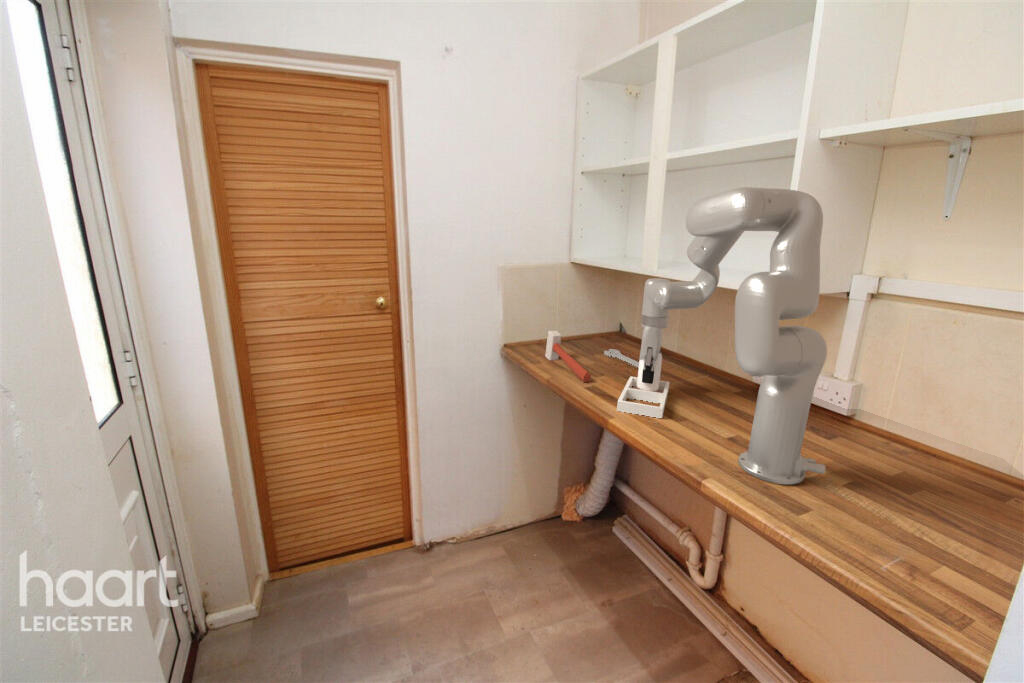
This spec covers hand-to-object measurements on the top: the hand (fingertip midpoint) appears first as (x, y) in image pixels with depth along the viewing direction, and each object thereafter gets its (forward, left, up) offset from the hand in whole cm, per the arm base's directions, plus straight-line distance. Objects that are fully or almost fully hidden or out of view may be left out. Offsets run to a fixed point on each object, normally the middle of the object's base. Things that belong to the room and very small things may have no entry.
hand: (648, 380), depth 141 cm
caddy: (0, +5, -5) cm, 7 cm away
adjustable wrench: (+12, -32, -5) cm, 34 cm away
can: (0, -2, -3) cm, 4 cm away
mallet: (+29, -13, -5) cm, 32 cm away
